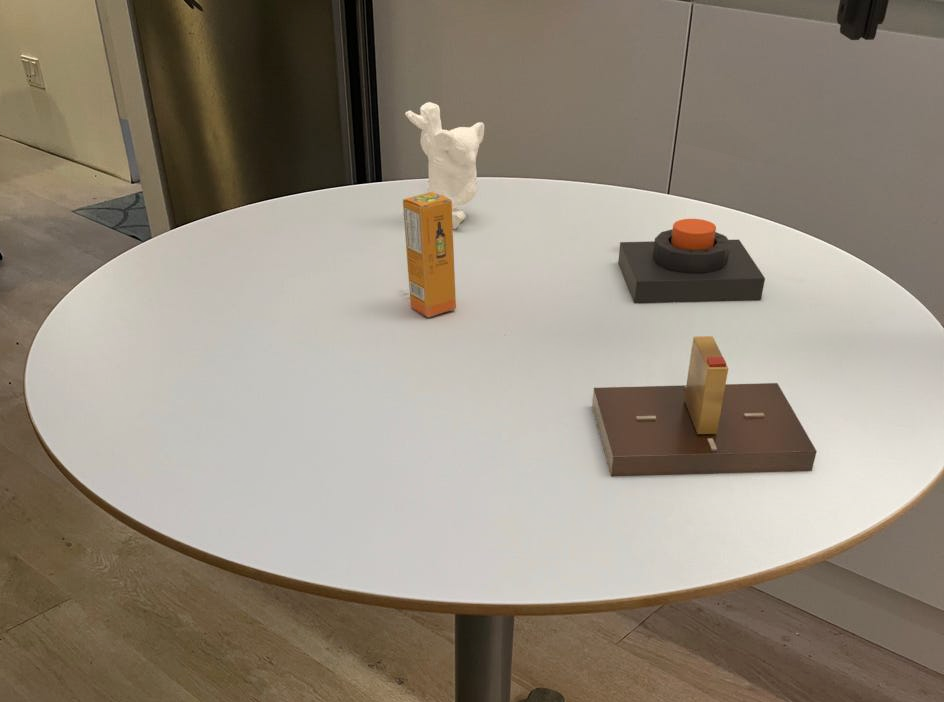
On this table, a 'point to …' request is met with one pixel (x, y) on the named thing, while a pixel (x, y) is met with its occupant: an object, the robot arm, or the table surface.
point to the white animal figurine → (449, 157)
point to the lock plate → (683, 450)
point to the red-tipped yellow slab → (705, 384)
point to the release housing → (689, 271)
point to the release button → (693, 234)
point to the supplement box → (430, 253)
